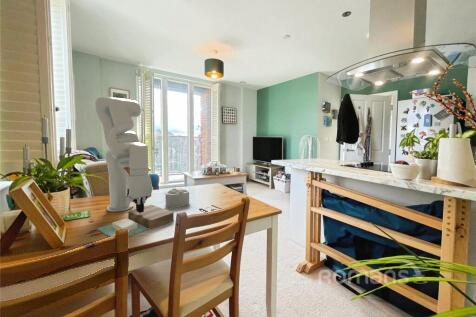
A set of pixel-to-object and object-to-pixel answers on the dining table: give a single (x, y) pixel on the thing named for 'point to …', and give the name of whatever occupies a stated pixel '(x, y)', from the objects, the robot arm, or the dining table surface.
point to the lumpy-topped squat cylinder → (177, 197)
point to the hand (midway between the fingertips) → (140, 211)
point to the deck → (151, 216)
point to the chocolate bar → (210, 208)
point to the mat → (110, 229)
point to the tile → (125, 224)
